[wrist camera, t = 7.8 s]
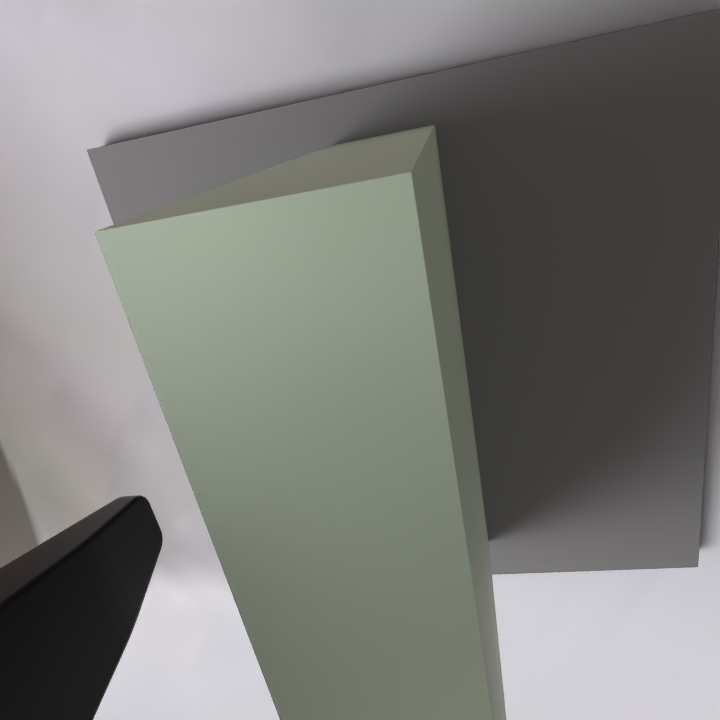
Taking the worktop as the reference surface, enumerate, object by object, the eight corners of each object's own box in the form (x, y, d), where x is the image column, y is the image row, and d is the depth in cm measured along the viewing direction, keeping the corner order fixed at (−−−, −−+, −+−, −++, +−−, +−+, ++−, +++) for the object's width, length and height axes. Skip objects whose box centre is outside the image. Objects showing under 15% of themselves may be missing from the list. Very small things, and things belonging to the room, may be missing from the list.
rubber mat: (720, 9, 9) (735, 5, 9) (690, 552, 14) (698, 566, 14) (100, 148, 12) (87, 149, 11) (250, 570, 16) (245, 583, 16)
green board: (434, 124, 10) (412, 171, 3) (488, 540, 14) (533, 993, 7) (331, 146, 11) (94, 232, 3) (411, 544, 15) (378, 977, 7)
